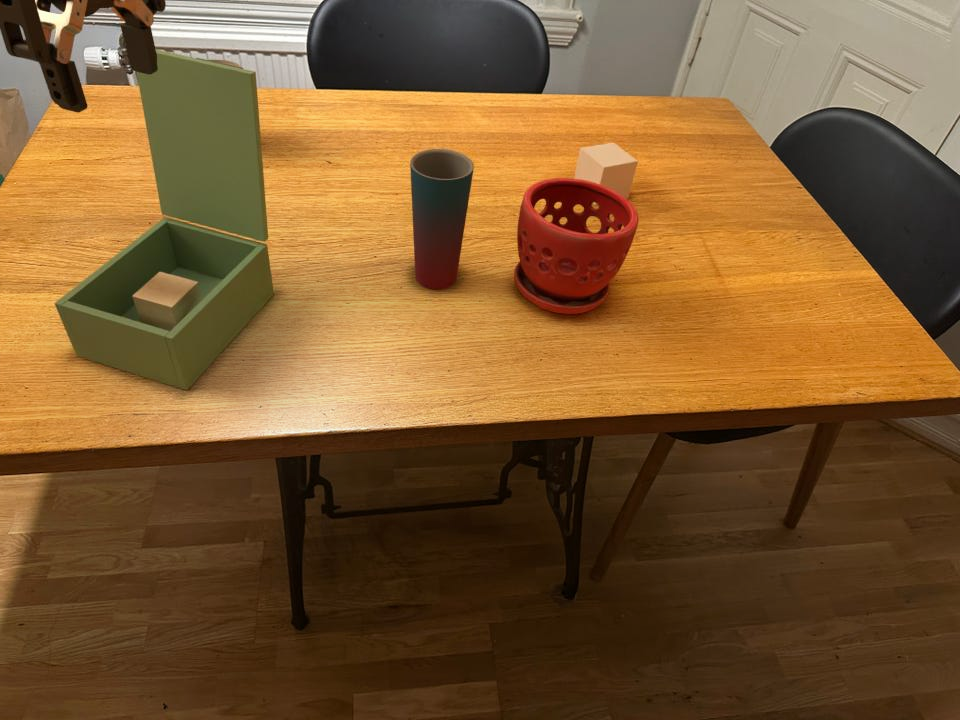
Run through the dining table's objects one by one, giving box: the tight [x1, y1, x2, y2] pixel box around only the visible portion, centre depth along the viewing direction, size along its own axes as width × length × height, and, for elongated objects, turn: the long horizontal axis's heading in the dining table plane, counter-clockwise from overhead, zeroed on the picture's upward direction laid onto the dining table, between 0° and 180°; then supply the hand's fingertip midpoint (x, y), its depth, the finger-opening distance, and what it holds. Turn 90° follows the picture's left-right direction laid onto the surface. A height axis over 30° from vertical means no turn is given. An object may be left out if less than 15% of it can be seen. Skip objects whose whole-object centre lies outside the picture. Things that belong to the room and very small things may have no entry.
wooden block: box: [132, 272, 202, 331], centre depth 72 cm, size 4×4×4 cm
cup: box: [409, 148, 475, 290], centre depth 79 cm, size 7×7×15 cm
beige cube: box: [573, 142, 639, 206], centre depth 101 cm, size 6×6×6 cm
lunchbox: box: [54, 216, 275, 391], centre depth 72 cm, size 17×13×7 cm
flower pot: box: [513, 177, 640, 315], centre depth 81 cm, size 13×13×12 cm
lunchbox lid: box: [136, 48, 269, 243], centre depth 72 cm, size 17×13×5 cm
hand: (111, 89), depth 56 cm, fingers open, 8 cm apart
